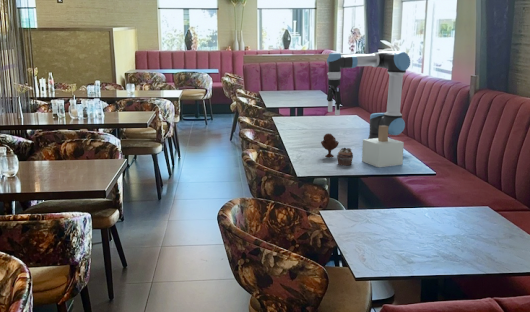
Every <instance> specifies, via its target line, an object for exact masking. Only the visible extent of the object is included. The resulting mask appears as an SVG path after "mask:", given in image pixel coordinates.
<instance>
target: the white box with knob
mask: <svg viewBox="0 0 530 312" xmlns="http://www.w3.org/2000/svg"><path fill="white" fill-rule="evenodd" d="M404 143H405V142H404V141H401V140H397V139H393V138H390V137H389V134H388V126H385V125H382V126H379V134H378V138H373V139H368V138H366V139H364V138H363V139H362V146H361V147H362V148H361V151H362V152H361V162H363V163H366V164H369V165H371V166H374V167H376V168H384V167H386V168H387V167H392V166H400V165H403V164H404V163H403V162H404V161H403V160H404V148H405V147H404Z"/></svg>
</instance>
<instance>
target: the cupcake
mask: <svg viewBox="0 0 530 312" xmlns="http://www.w3.org/2000/svg"><path fill="white" fill-rule="evenodd" d="M353 158H354V154H353V152H352V149H351V148H348V147H347V148H346V147H342V148H340V149H339V151H338V153H337V155H336V160H337V164H338V165H339V166H343V165H344V166H343V167H345V166H351V165H352V163H353Z"/></svg>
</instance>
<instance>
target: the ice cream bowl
mask: <svg viewBox="0 0 530 312" xmlns="http://www.w3.org/2000/svg"><path fill="white" fill-rule="evenodd" d="M320 144H321V146H322V147H323V148H324V149H325V150H326V151H328V152H327V153H328V154H325V156H324V157H325V158H330V157H331V158H334V157H335V155H333V154H332V151H333V150H335V149H336V148H337V147H338V146H339V141H338V140H336V137H335V136H334V135H333V134H331V133H325V134H324V135H323V140H321V142H320Z"/></svg>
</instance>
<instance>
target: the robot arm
mask: <svg viewBox="0 0 530 312" xmlns="http://www.w3.org/2000/svg"><path fill="white" fill-rule="evenodd" d="M326 64H327V71H328V72H327V78H328V80H327V85H328V90H327V96H326V100H327V112H328V113H333V105H334V109H335V110H334V116H340V115H341V113H340V112H341V110H340V109H341V107H340V106H341V104H342V97H341V87H339V86H341V77H342V75H341V72H342V69H354V68H357V67H373V68H380V69H381V68H382V69H385V70H386V69H387V71H386V72H387V74H388V75H389V77H388V91H387V103H386V111H385V112H375V113H371V114H370V115H369V116H370V117H369V135H368V138H367V139H373V138H378V134H379V126H382V125H385V126H388V135H390V136H399V135H401V134H402V133H403V132H404V130H405V128H406V123H405V121H404V119H403V114H402V113H401V103H402V92H403V81H404V79H403V78H404V75H405V74H406V73H407V72H406V71H407V70H408V69H409V68H410V66H411V57H410V56H409V54H408V53H407V52H404V51H399V50H398V51H395V50H393V51H392V50H387V51H379V52H378V51H377V52H373V53H367V54H360V53H359V54H342V53H340V52H331V53H328V56H327V59H326ZM333 98H334V99H333ZM333 101H334V102H335V103H334V104H333Z"/></svg>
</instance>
